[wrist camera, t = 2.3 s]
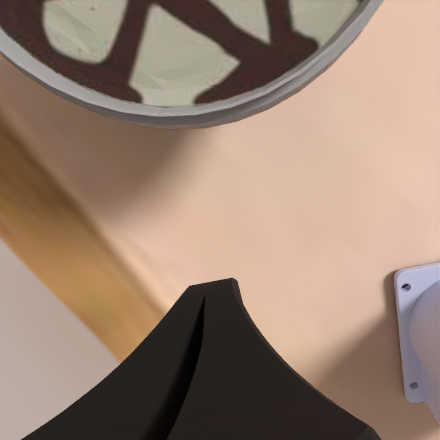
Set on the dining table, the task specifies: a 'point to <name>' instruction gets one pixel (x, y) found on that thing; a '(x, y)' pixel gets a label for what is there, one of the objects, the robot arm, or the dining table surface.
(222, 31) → the food container
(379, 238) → the dining table surface
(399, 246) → the dining table surface
